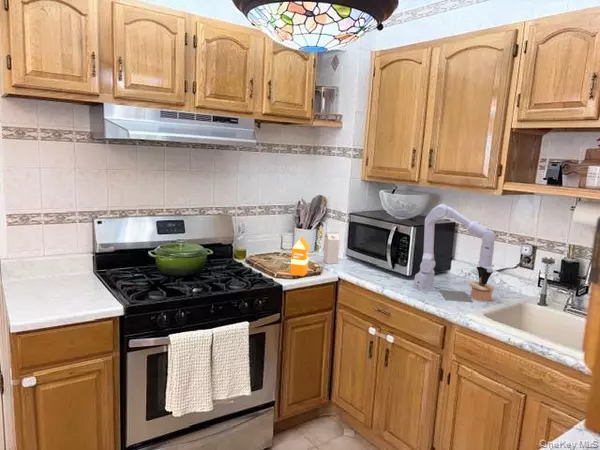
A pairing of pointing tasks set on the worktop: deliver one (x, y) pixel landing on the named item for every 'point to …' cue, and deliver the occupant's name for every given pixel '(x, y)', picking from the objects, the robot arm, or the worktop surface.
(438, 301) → the worktop surface
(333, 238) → the milk carton
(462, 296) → the mat
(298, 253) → the orange juice
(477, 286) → the lid
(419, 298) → the worktop surface
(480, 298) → the bowl
